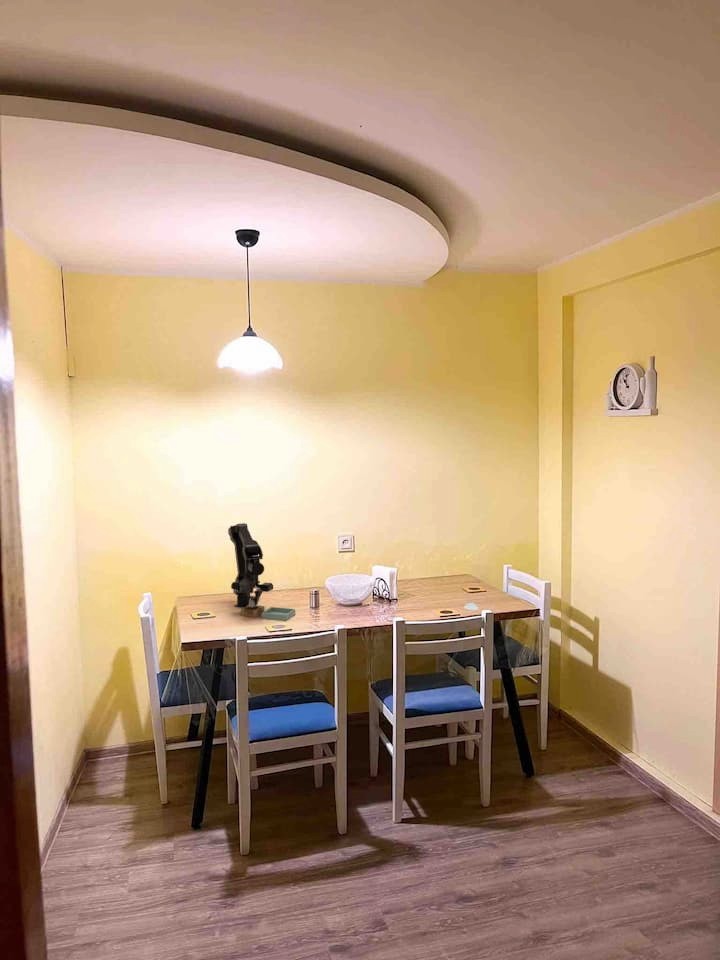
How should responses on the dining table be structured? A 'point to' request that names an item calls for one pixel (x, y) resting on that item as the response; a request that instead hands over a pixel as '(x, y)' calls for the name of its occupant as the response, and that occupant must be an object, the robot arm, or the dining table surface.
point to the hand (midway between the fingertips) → (252, 604)
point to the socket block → (252, 611)
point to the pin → (252, 602)
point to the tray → (278, 613)
